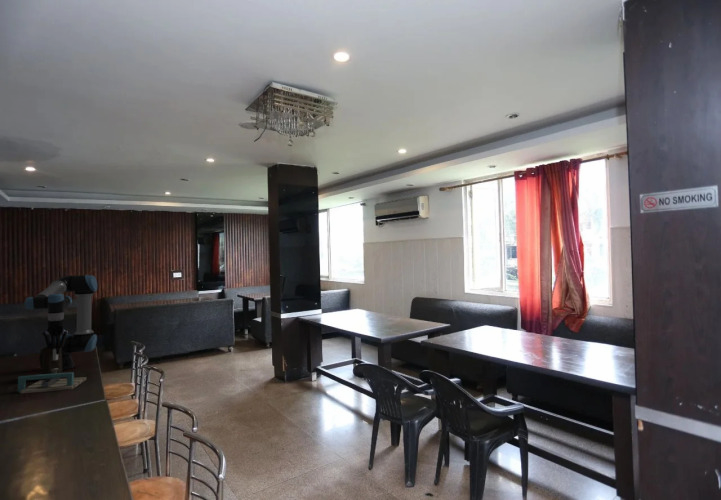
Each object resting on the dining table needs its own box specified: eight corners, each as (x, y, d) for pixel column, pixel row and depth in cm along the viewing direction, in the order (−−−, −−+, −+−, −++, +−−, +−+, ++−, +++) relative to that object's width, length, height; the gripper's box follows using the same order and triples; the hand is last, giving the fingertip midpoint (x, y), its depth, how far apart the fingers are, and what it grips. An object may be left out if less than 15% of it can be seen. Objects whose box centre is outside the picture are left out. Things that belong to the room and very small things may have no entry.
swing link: (51, 380, 238) (51, 375, 238) (60, 379, 240) (60, 374, 240) (40, 387, 224) (40, 382, 224) (49, 386, 226) (49, 381, 226)
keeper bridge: (20, 391, 225) (20, 376, 225) (73, 386, 232) (73, 372, 232) (17, 392, 223) (17, 377, 223) (71, 387, 230) (71, 373, 230)
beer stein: (67, 375, 256) (65, 344, 257) (53, 380, 245) (51, 348, 246) (45, 376, 257) (44, 346, 258) (30, 381, 247) (29, 349, 247)
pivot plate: (39, 383, 240) (39, 367, 240) (86, 379, 246) (86, 364, 247) (20, 393, 221) (20, 376, 221) (71, 389, 227) (72, 373, 227)
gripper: (71, 318, 239) (71, 357, 238) (46, 319, 236) (46, 359, 236) (65, 320, 232) (64, 360, 231) (39, 321, 229) (39, 362, 228)
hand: (55, 359), depth 233 cm, fingers closed
